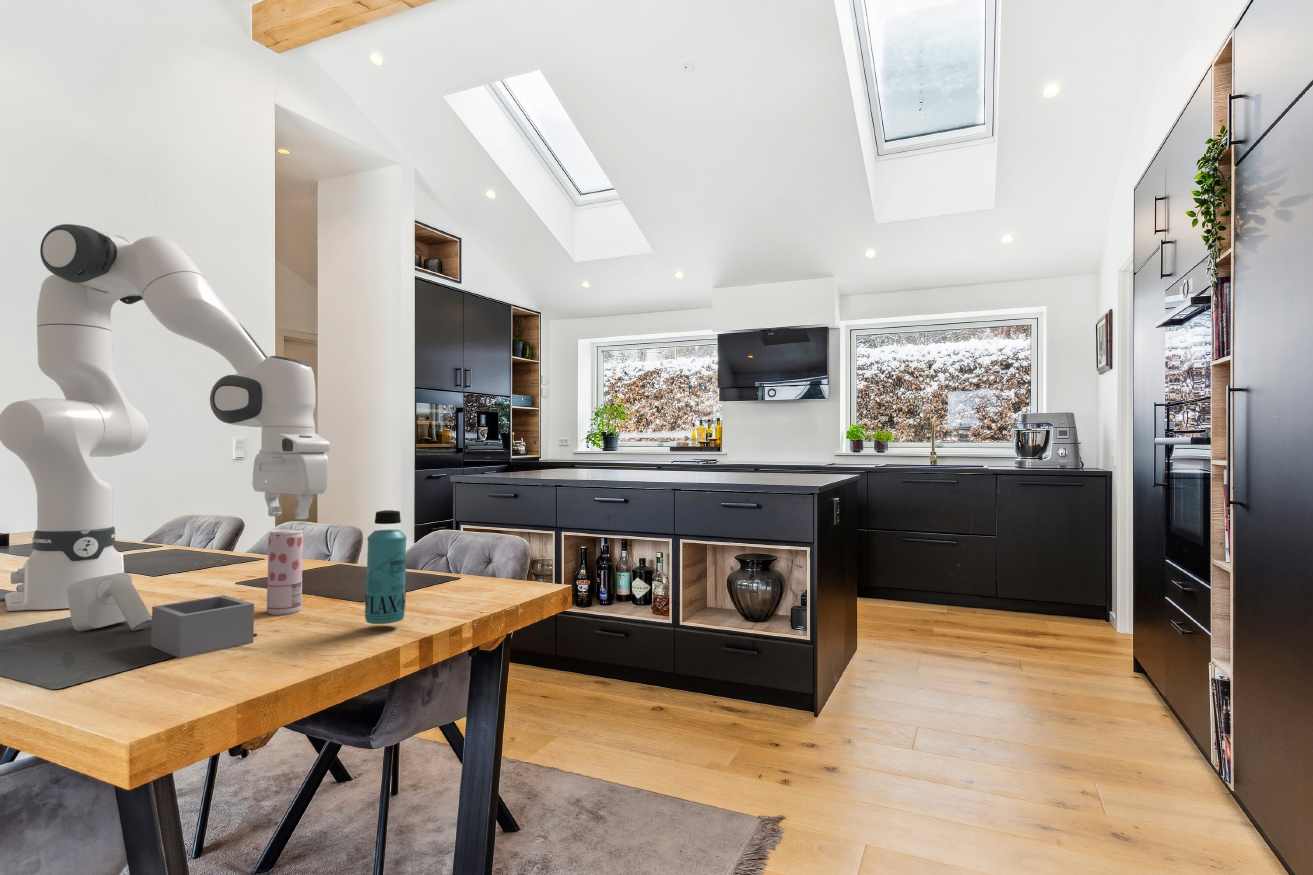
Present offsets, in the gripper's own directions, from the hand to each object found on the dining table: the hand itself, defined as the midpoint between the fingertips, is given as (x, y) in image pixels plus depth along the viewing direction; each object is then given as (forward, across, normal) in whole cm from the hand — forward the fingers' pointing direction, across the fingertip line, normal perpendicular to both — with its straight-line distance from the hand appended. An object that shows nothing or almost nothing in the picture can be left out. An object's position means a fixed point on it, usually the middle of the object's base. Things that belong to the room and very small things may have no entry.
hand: (287, 517), depth 124 cm
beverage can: (+18, 0, 0) cm, 18 cm away
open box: (+18, +10, -18) cm, 27 cm away
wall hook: (+17, -10, -22) cm, 30 cm away
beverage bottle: (+18, +24, +4) cm, 31 cm away
